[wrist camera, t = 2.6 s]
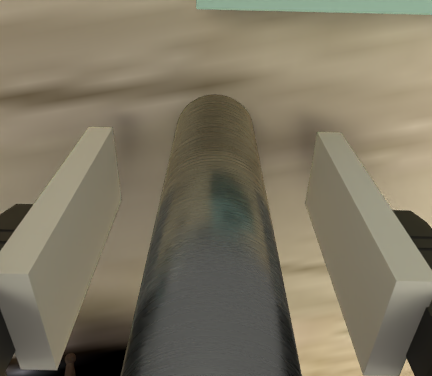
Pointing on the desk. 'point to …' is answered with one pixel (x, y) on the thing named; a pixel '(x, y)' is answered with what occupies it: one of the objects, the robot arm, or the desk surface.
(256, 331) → the pin
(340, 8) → the socket block
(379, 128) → the desk surface
